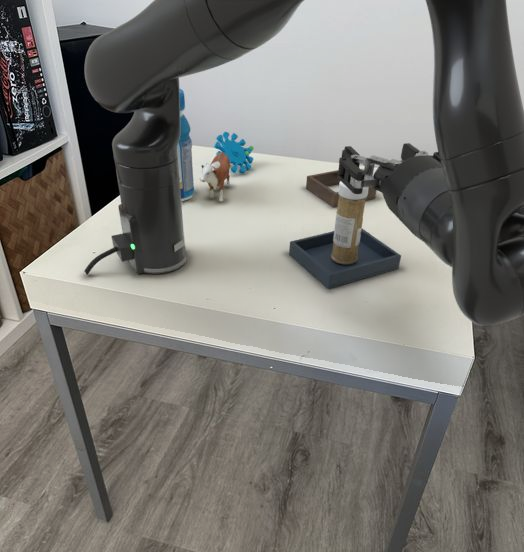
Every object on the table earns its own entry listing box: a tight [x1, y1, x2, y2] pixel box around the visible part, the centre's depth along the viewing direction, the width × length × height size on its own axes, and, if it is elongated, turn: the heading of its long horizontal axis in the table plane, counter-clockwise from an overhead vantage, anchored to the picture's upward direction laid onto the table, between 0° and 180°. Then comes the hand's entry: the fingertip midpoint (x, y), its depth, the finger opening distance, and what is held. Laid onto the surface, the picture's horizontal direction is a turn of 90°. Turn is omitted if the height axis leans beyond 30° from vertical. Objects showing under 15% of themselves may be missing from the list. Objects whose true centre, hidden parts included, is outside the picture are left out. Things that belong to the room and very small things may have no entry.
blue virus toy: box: [213, 131, 255, 175], centre depth 120 cm, size 11×6×10 cm
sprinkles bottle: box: [331, 181, 369, 265], centre depth 84 cm, size 5×5×13 cm
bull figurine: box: [199, 151, 231, 203], centre depth 106 cm, size 4×13×8 cm, turn 168°
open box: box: [305, 169, 377, 208], centre depth 110 cm, size 11×11×3 cm
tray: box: [288, 228, 402, 290], centre depth 88 cm, size 14×12×2 cm
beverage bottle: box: [177, 88, 195, 202], centre depth 102 cm, size 8×8×20 cm
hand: (375, 151), depth 72 cm, fingers open, 8 cm apart
